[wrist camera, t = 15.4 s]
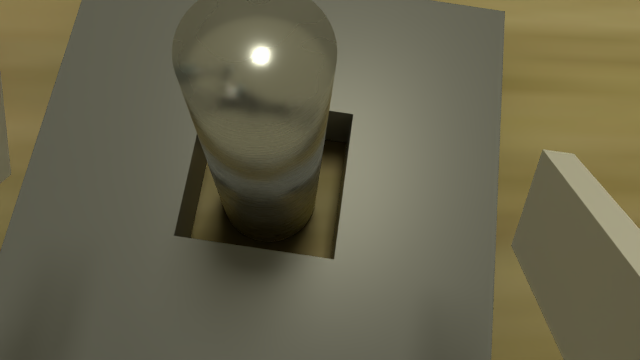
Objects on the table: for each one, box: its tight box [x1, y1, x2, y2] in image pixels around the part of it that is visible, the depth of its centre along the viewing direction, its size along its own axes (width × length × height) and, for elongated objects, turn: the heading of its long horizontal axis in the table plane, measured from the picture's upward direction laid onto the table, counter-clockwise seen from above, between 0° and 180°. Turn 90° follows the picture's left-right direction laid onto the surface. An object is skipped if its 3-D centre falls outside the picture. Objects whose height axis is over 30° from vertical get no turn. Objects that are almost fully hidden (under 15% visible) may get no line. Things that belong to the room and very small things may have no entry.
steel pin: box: [172, 0, 337, 242], centre depth 20 cm, size 4×4×12 cm
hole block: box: [0, 0, 505, 360], centre depth 24 cm, size 18×18×3 cm
